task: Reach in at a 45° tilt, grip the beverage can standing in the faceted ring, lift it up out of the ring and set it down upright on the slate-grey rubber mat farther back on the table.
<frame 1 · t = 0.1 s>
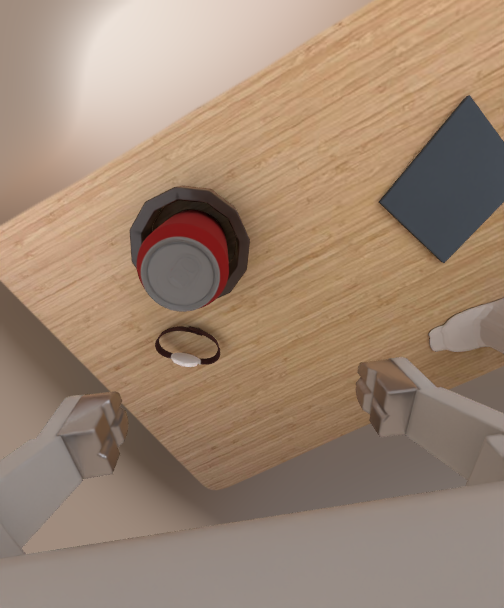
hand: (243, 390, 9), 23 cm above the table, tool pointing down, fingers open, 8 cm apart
candle: (474, 326, 39), on the table
faceted ring: (195, 241, 30), on the table
beverage can: (195, 240, 30), resting in faceted ring
watch: (190, 339, 35), on the table
mat: (452, 189, 30), on the table
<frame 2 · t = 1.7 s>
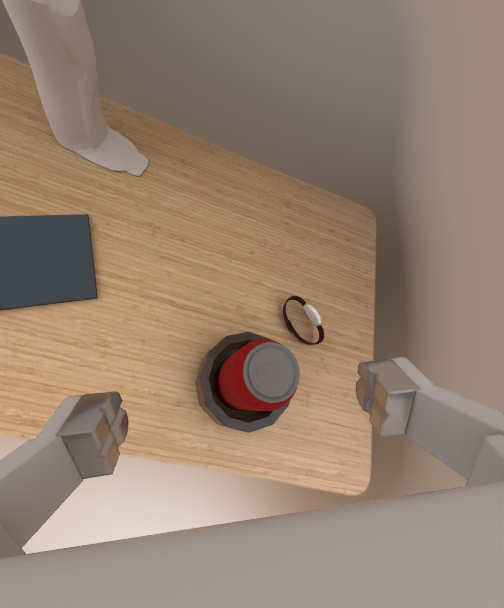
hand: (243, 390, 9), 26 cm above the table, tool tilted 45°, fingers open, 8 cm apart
candle: (103, 147, 42), on the table
faceted ring: (239, 382, 36), on the table
beverage can: (238, 382, 36), resting in faceted ring
watch: (297, 323, 41), on the table
mat: (36, 259, 33), on the table
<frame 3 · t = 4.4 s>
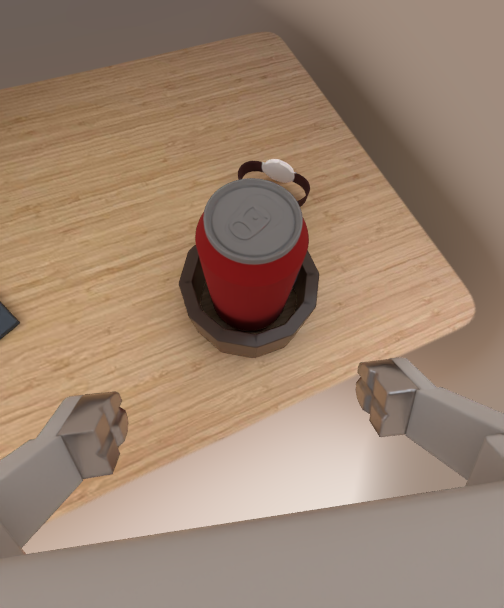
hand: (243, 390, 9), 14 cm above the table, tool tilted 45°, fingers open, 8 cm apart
faceted ring: (248, 298, 26), on the table
beverage can: (248, 299, 26), resting in faceted ring
watch: (271, 196, 31), on the table
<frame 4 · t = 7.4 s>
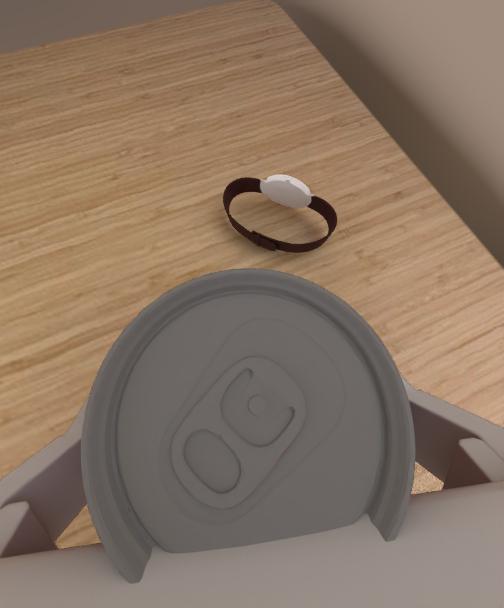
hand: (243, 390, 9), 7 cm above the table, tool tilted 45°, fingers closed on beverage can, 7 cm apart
beverage can: (245, 408, 16), resting in faceted ring, touching gripper
watch: (275, 229, 20), on the table
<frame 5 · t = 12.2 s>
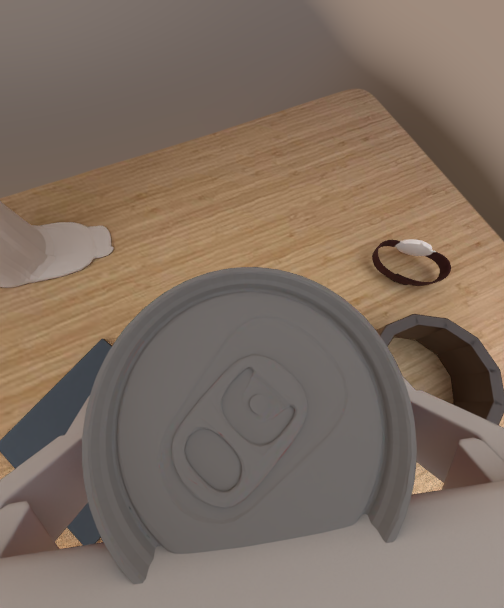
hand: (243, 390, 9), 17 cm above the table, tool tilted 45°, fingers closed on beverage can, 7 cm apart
candle: (50, 252, 31), on the table
faceted ring: (406, 382, 27), on the table
beverage can: (246, 408, 16), point 10 cm above the table, touching gripper
watch: (401, 269, 31), on the table
mat: (98, 431, 25), on the table
when the fingers open (7 cm above the table, at t = 17.3 s): beverage can stays where it is, resting on mat.
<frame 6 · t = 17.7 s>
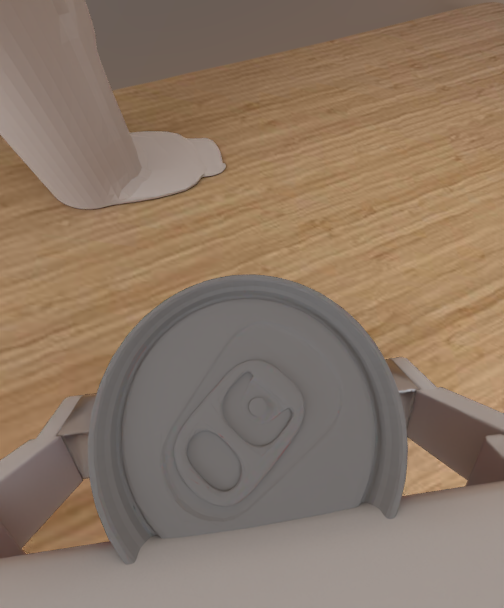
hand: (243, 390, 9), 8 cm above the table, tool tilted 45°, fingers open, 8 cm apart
candle: (139, 168, 23), on the table
beverage can: (243, 409, 16), resting on mat
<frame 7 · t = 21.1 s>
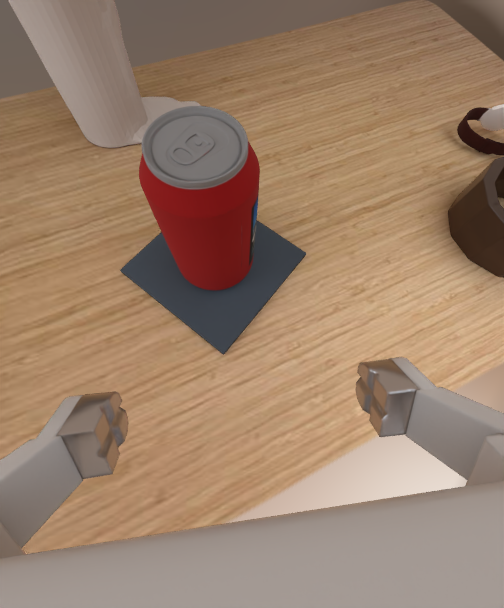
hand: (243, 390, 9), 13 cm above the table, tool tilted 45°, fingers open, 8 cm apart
candle: (146, 122, 32), on the table
faceted ring: (502, 231, 28), on the table
beverage can: (216, 261, 25), resting on mat
watch: (484, 143, 32), on the table
mat: (215, 263, 25), on the table
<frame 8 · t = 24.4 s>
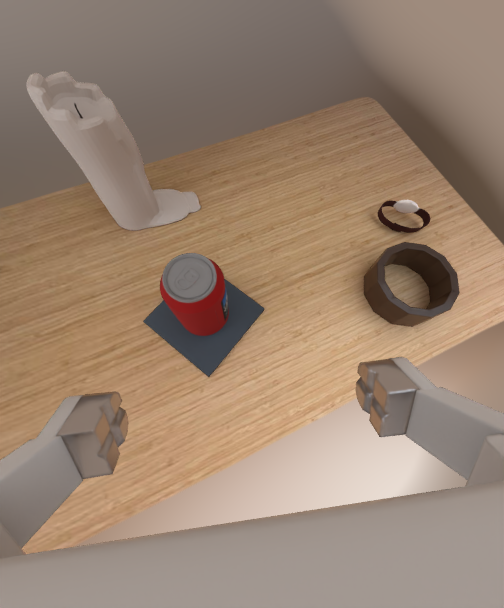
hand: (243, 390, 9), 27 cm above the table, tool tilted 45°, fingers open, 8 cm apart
candle: (158, 208, 45), on the table
faceted ring: (399, 290, 41), on the table
beverage can: (205, 314, 39), resting on mat
watch: (397, 222, 46), on the table
mat: (205, 315, 39), on the table
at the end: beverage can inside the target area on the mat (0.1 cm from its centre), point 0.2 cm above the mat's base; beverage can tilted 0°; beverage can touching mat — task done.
